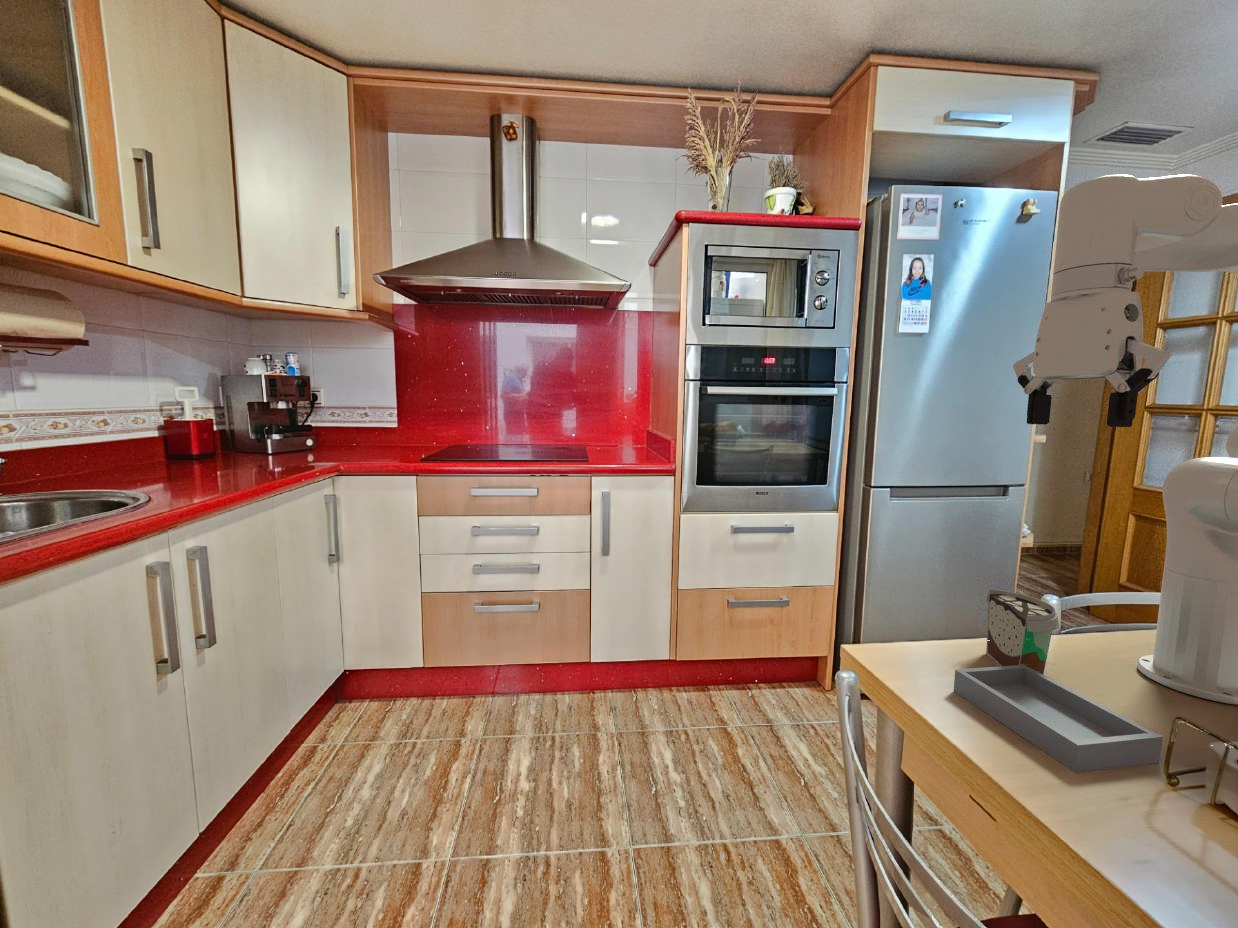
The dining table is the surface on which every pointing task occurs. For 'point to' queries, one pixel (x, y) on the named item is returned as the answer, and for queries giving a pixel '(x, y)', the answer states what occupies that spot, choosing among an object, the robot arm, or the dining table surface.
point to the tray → (1058, 718)
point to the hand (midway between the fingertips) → (1075, 425)
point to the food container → (1019, 629)
